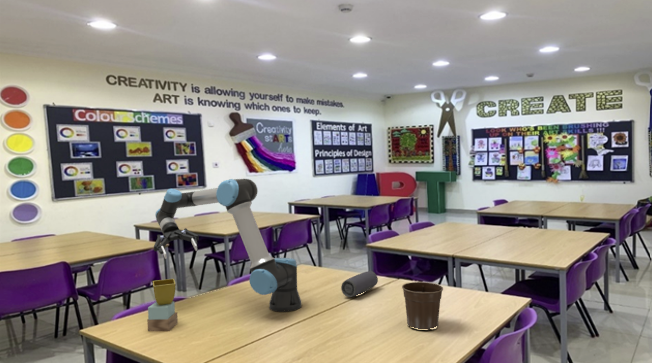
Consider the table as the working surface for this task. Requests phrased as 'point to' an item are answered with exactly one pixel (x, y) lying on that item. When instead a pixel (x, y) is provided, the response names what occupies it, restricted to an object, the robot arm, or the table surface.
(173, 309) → the tower top
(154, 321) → the tower base
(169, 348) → the table surface
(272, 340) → the table surface
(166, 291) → the flower pot
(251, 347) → the table surface
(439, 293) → the plant pot
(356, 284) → the bluetooth speaker
